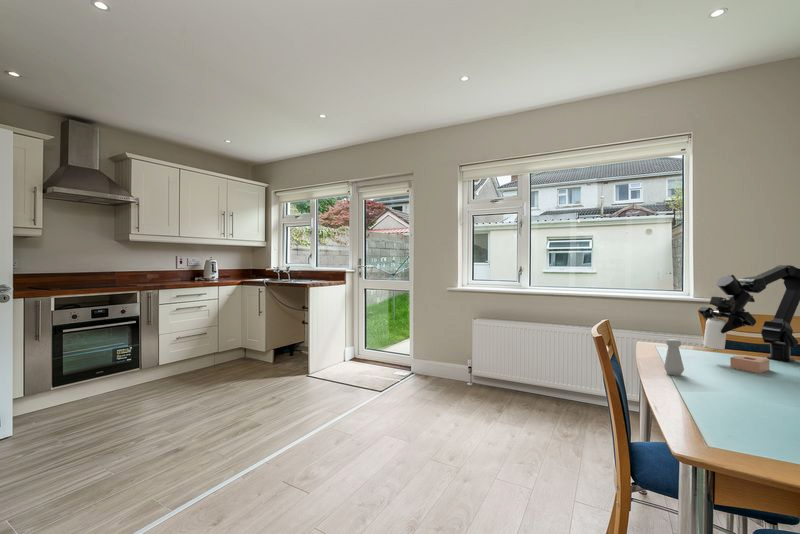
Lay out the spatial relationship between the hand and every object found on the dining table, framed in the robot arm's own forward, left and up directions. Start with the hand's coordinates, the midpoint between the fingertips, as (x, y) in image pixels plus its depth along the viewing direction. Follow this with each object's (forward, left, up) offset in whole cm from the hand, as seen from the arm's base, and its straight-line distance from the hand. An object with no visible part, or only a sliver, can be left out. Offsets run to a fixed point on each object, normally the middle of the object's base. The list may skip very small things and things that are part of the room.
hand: (713, 331), depth 144 cm
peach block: (-3, +10, -13) cm, 17 cm away
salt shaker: (+29, 0, -13) cm, 32 cm away
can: (-2, -1, -7) cm, 7 cm away
